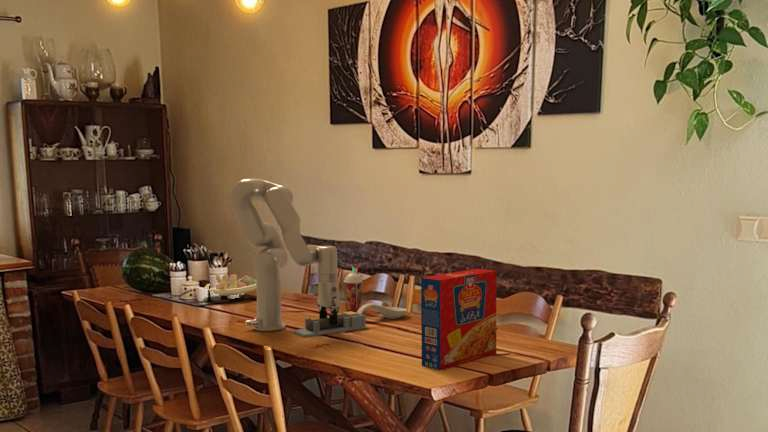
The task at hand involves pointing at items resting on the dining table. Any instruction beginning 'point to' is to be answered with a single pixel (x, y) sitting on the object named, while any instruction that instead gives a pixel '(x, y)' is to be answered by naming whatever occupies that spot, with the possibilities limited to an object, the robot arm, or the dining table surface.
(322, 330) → the clip rail
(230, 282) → the dish with food
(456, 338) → the pasta box
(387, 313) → the spoon rest
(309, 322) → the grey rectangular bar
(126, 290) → the dining table surface
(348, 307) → the smoothie
